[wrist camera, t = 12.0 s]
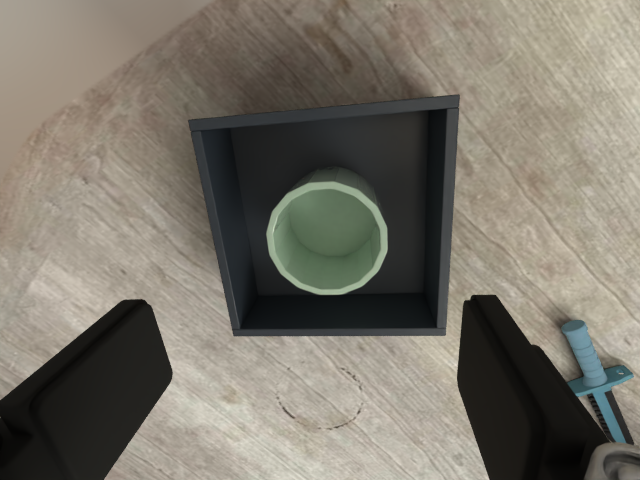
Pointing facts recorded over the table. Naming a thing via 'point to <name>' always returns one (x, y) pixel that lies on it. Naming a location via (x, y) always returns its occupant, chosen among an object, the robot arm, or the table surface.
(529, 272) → the table surface
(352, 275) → the green tumbler
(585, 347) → the knife
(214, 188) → the dish tub
